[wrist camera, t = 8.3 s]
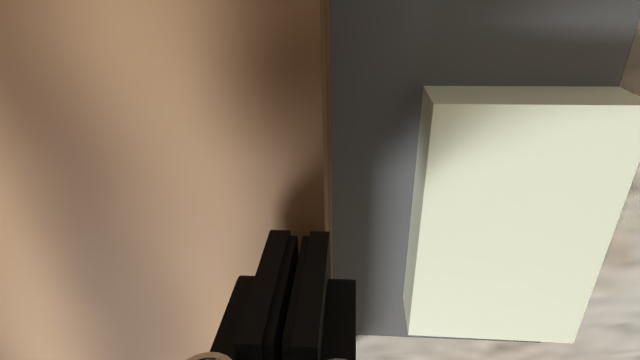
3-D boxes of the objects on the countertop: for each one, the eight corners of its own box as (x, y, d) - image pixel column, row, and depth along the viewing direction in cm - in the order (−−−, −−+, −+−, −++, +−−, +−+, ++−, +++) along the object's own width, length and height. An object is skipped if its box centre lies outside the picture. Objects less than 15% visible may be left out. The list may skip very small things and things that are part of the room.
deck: (326, -279, 10) (310, -411, 7) (334, 358, 20) (329, 443, 17) (-197, -240, 11) (-454, -336, 8) (57, 345, 21) (-3, 421, 18)
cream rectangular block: (433, 104, 12) (423, 85, 14) (408, 334, 16) (402, 297, 18) (659, 105, 11) (618, 86, 13) (573, 343, 15) (550, 304, 17)
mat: (666, -95, 11) (673, -97, 11) (538, 337, 18) (540, 342, 18) (329, -83, 12) (328, -84, 12) (333, 328, 19) (333, 333, 19)
